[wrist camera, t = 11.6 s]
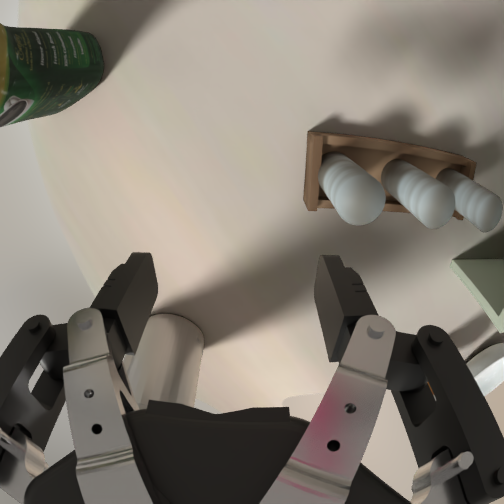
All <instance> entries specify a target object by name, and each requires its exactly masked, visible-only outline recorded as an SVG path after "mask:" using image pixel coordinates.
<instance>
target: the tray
mask: <svg viewBox="0 0 504 504" xmlns="http://www.w3.org/2000/svg"><path fill="white" fill-rule="evenodd" d="M475 168H476V162H474V161H472V160H470V159H468V158H466V157H464V156H461V155H458V154H454V153H450V152H446V151H441V150H437V149H432V148H428V147H423V146H418V145H413V144H407V143H402V142H396V141H390V140H384V139H377V138H370V137H362V136H354V135H345V134H335V133H324V132H311V131H308V135H307V153H306V169H305V184H304V197H303V200H304V202H305V204H306V207H307V209H308V211H317V208H334V209H336V210H337V212H338V214H339V215H340V217H341V218H342V219H343V220H344V221H345V222H347V223H349V224H351V225H357V226H359V225H365V224H368V223H370V222H372V221H374V220H375V219H376V218H377V217H378V216H379V215H380V214H381V212H382V211H391V212H405V213H412V214H413V215H414V216H415V217H416V218H417V219H418V220H419V221H420V222H421V223H422V224H424V225H425V226H426V227H427V228H430V229H437V228H440V227H442V226H444V225H445V224H446V223H447V222H448V221H449V220H450V218H451V217H456V218H457V219H458V220H463V218H464V217H465V218H466V219H467V220H469V221H470V222H471V223H472V224H473V225H475V226H476V227H477V228H478V229H479V230H480V231H482V232H489V231H491V230H492V229H494V228H495V227H496V225H497V224H498V222H499V220H500V218H501V215H502V201H501V199H500V197H499V196H497V195H496V194H494V193H493V192H491V191H489V190H488V189H486V188H485V187H483V186H481V185H480V184H478V183H476V182H475V181H473V178H474V173H475Z"/></svg>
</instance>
